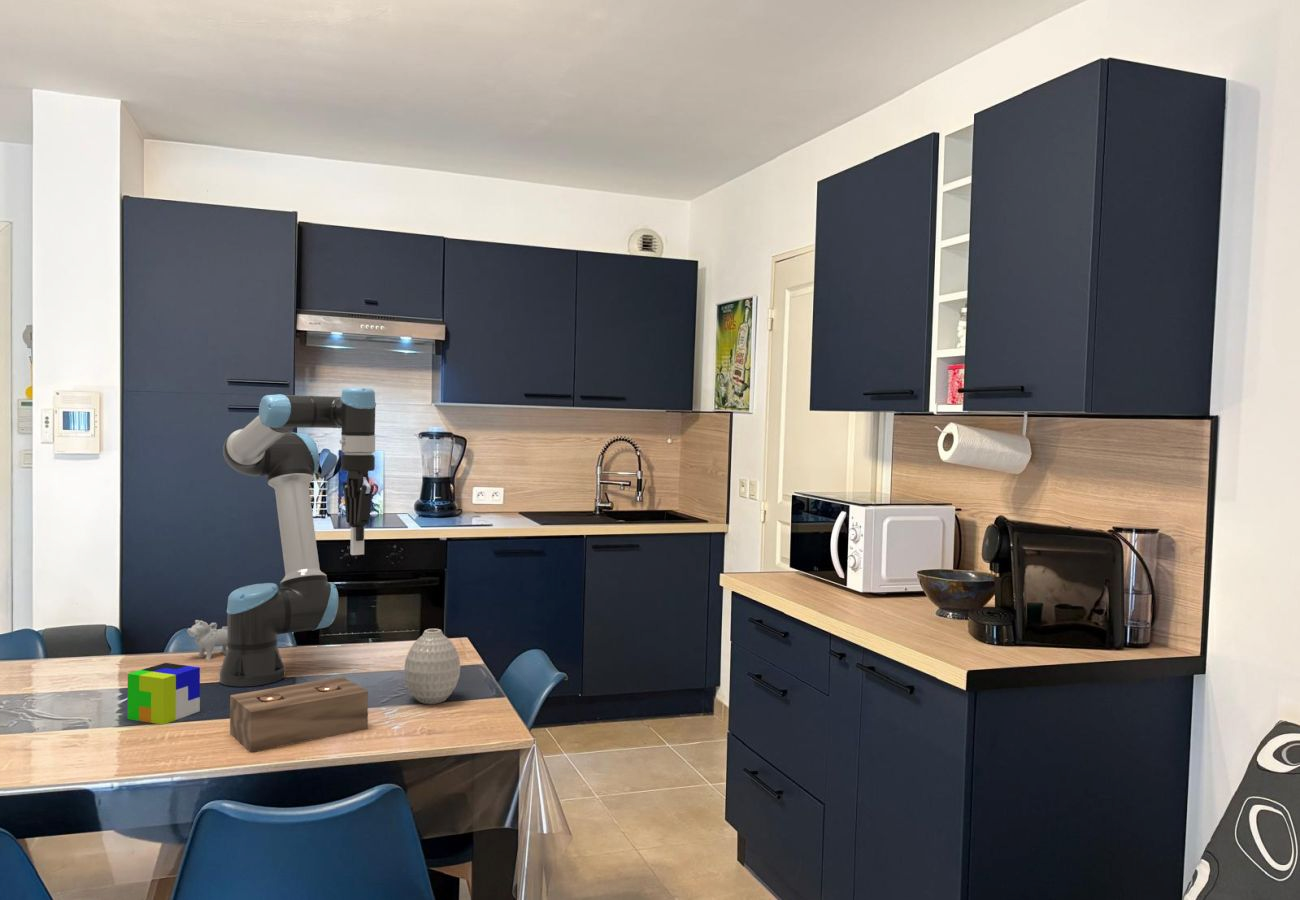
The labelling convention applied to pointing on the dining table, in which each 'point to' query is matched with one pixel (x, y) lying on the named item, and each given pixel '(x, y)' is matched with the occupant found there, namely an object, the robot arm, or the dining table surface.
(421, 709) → the dining table surface
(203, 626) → the dog figurine
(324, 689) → the peg
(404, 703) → the dining table surface
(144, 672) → the puzzle toy
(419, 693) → the vase
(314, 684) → the socket block
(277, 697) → the peg
